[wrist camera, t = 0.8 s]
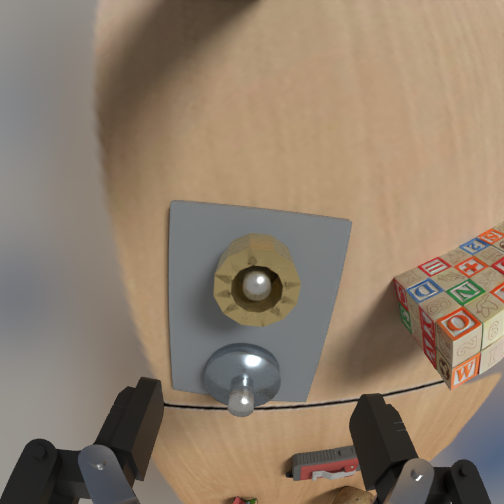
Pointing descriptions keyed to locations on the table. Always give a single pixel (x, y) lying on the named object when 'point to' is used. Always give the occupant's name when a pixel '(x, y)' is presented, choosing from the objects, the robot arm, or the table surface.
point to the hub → (242, 377)
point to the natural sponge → (353, 496)
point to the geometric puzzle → (240, 503)
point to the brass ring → (231, 290)
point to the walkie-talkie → (324, 464)
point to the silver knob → (256, 281)
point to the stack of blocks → (458, 307)
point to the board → (228, 330)
